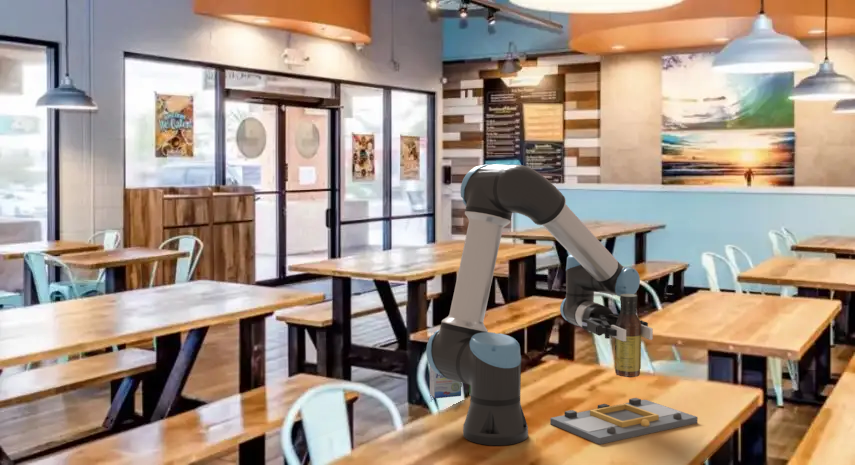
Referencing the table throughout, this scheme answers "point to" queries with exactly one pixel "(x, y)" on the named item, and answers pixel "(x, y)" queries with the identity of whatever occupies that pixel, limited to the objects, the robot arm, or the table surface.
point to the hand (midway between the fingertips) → (637, 334)
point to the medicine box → (443, 386)
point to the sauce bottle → (628, 339)
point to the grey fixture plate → (622, 420)
